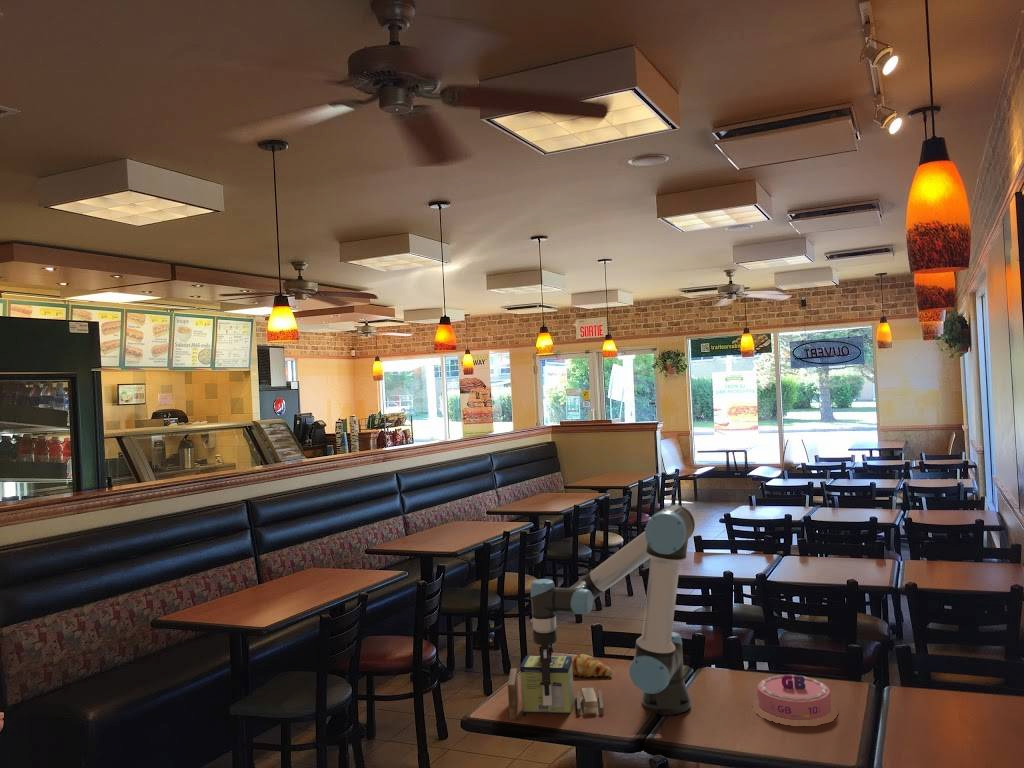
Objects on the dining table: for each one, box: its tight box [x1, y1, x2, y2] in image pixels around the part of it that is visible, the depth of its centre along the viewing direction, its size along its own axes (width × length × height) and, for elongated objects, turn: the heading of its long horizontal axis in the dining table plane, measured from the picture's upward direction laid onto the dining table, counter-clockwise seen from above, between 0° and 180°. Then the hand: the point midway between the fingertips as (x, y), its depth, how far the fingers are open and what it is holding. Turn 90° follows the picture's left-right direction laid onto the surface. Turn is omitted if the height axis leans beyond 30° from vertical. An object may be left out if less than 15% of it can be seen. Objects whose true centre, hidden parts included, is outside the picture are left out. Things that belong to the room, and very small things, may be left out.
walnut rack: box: [507, 667, 605, 721], centre depth 251 cm, size 29×14×11 cm, turn 86°
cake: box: [756, 674, 832, 720], centre depth 242 cm, size 25×25×11 cm
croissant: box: [571, 653, 613, 678], centre depth 282 cm, size 21×10×8 cm, turn 60°
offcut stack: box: [581, 687, 598, 714], centre depth 251 cm, size 4×12×4 cm, turn 176°
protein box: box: [519, 655, 576, 717], centre depth 252 cm, size 10×16×16 cm
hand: (548, 696), depth 252 cm, fingers open, 13 cm apart
